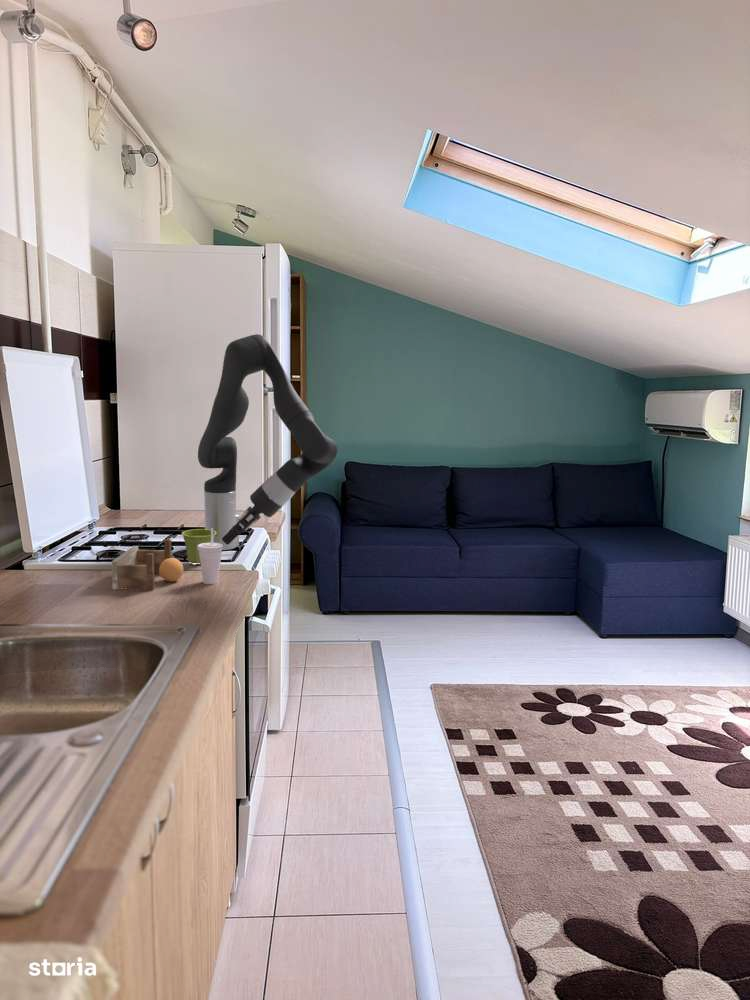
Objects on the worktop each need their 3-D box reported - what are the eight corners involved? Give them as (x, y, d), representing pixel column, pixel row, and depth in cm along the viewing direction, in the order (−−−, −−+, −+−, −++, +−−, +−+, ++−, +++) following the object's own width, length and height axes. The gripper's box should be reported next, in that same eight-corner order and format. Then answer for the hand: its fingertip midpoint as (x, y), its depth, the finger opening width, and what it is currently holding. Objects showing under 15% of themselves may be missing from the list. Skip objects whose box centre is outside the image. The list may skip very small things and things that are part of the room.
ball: (174, 576, 211) (174, 554, 210) (188, 581, 207) (188, 558, 206) (154, 581, 206) (154, 558, 205) (168, 585, 202) (167, 562, 201)
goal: (171, 572, 215) (170, 539, 213) (153, 590, 198) (152, 554, 197) (134, 571, 215) (133, 538, 214) (112, 589, 198) (111, 553, 197)
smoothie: (217, 586, 203) (216, 531, 200) (193, 584, 204) (192, 530, 202) (227, 579, 209) (226, 526, 206) (204, 578, 210) (203, 525, 208)
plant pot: (223, 561, 228) (223, 531, 226) (203, 568, 219) (202, 537, 218) (196, 557, 232) (195, 527, 230) (175, 564, 223) (174, 533, 222)
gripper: (266, 479, 209) (223, 522, 211) (258, 488, 195) (211, 533, 197) (287, 500, 210) (243, 542, 212) (280, 510, 196) (233, 555, 198)
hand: (228, 538), depth 204 cm, fingers open, 8 cm apart
